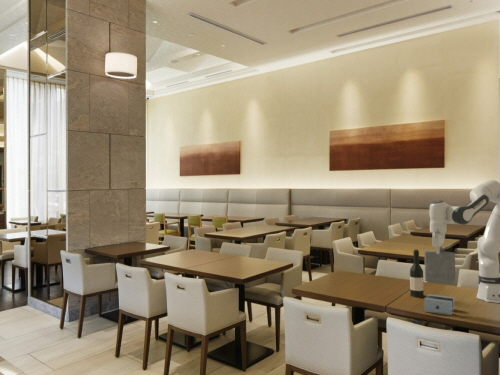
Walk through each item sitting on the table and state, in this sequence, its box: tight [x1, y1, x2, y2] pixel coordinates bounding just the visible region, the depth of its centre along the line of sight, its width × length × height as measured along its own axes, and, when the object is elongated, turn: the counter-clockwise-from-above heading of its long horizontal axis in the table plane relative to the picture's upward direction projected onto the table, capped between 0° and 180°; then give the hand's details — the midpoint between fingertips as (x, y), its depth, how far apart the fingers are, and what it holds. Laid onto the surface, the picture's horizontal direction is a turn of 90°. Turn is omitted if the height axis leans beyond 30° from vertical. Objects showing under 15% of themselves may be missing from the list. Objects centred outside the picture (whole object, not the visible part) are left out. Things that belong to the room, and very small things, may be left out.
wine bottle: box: [409, 248, 425, 298], centre depth 261 cm, size 8×8×30 cm
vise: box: [423, 293, 455, 316], centre depth 229 cm, size 14×14×7 cm
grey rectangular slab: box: [424, 247, 456, 285], centre depth 230 cm, size 16×4×20 cm, turn 57°
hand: (438, 253), depth 230 cm, fingers closed on grey rectangular slab, 4 cm apart
